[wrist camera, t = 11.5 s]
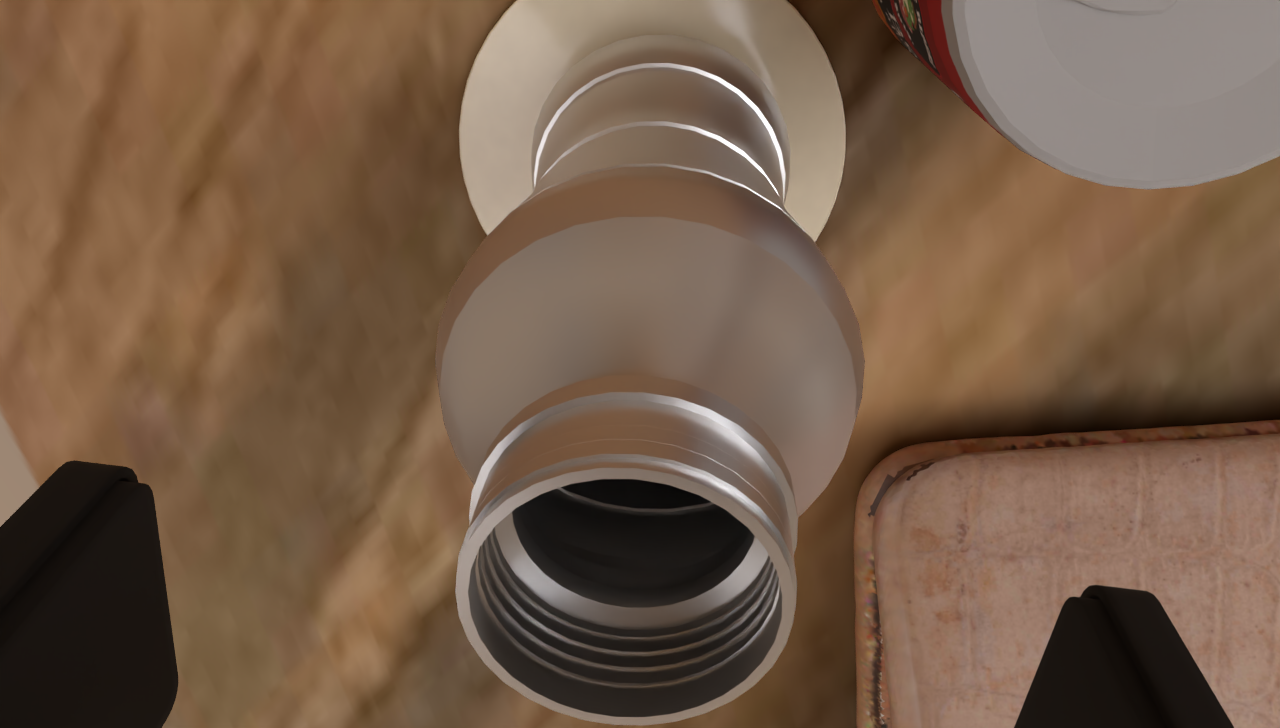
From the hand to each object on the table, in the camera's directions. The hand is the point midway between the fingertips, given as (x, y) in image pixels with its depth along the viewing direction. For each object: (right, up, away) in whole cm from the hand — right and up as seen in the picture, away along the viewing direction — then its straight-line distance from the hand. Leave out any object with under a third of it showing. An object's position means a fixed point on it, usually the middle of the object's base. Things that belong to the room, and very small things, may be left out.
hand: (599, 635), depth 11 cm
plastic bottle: (+1, +9, +18) cm, 21 cm away
